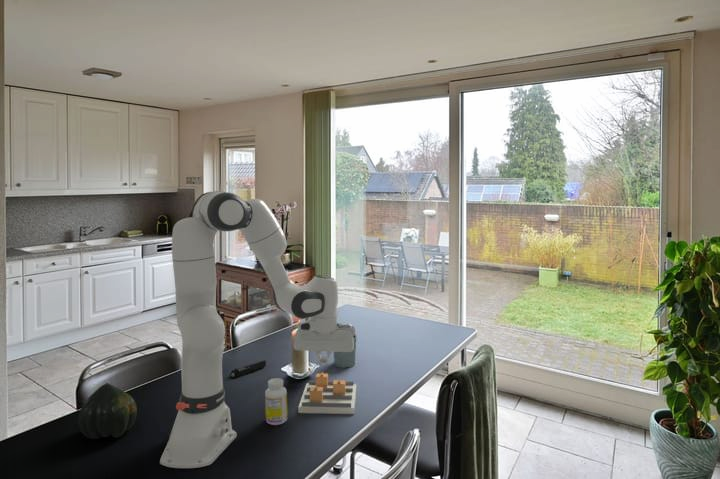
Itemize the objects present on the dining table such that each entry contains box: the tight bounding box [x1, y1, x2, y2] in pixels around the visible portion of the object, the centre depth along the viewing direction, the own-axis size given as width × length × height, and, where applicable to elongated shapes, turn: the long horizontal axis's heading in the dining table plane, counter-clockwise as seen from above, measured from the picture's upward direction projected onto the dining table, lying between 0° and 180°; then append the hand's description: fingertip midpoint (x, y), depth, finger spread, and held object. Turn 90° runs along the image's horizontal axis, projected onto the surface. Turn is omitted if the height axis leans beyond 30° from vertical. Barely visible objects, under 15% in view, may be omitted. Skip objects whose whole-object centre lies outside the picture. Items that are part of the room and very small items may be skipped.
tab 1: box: [315, 371, 329, 388], centre depth 160 cm, size 3×4×5 cm
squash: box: [77, 382, 138, 440], centre depth 134 cm, size 14×15×15 cm
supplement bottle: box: [264, 377, 288, 426], centre depth 141 cm, size 7×7×13 cm
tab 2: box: [310, 386, 323, 402], centre depth 149 cm, size 3×4×5 cm
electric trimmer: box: [229, 360, 267, 380], centre depth 179 cm, size 4×16×3 cm, turn 138°
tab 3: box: [333, 378, 346, 395], centre depth 154 cm, size 3×4×5 cm
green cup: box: [332, 333, 357, 369], centre depth 187 cm, size 10×10×12 cm
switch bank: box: [297, 380, 357, 415], centre depth 155 cm, size 18×18×3 cm
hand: (323, 363), depth 153 cm, fingers closed
